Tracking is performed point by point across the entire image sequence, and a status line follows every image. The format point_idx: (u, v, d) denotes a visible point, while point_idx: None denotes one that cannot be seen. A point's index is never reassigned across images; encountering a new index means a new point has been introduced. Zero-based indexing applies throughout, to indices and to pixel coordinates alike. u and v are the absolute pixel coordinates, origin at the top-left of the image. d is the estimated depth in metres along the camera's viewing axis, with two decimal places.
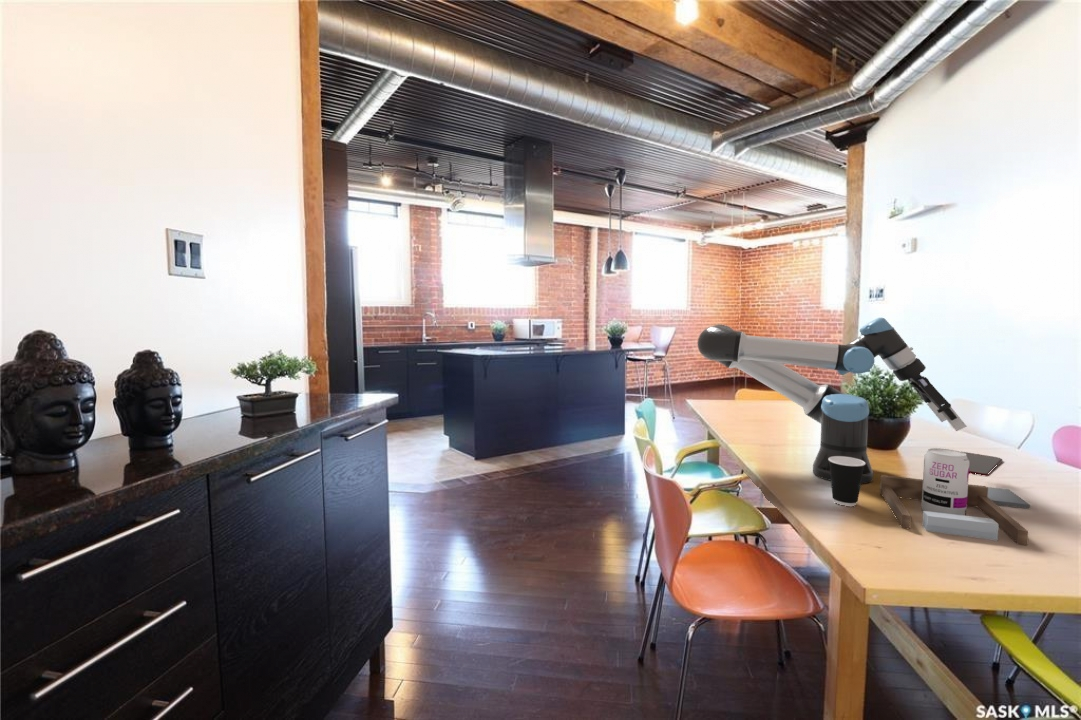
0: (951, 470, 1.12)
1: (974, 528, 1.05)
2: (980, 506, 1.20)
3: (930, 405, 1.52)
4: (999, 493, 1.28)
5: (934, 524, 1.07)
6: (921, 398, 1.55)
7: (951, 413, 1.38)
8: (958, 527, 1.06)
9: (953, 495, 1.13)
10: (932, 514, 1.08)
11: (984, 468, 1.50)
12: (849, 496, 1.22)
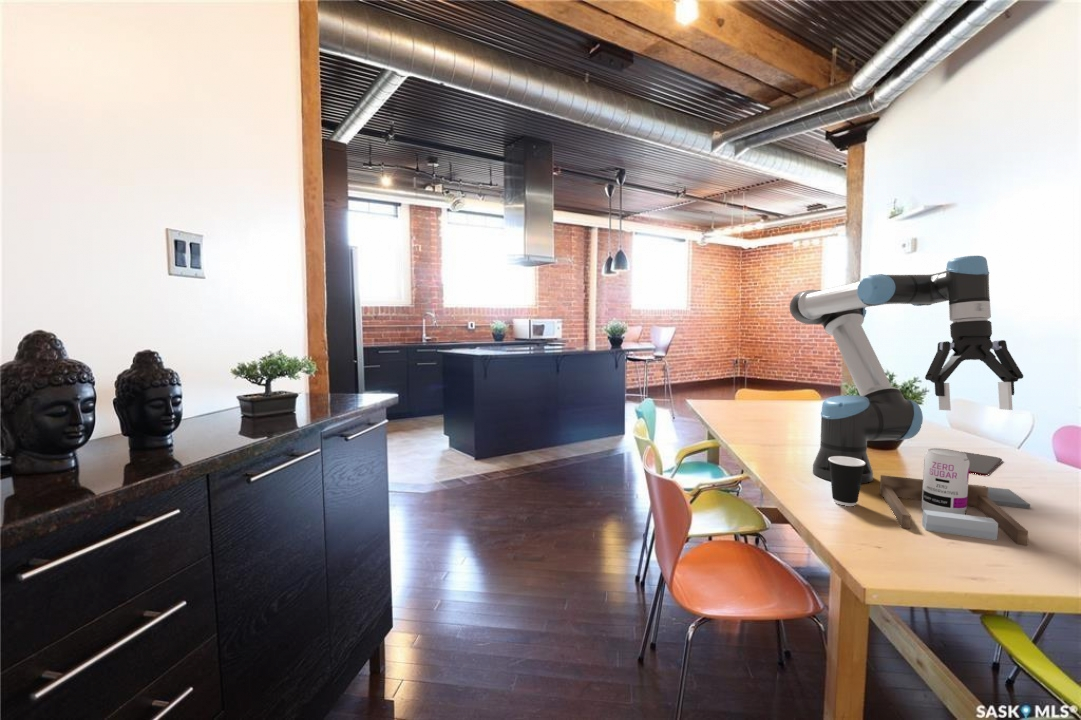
0: (951, 470, 1.12)
1: (973, 527, 1.05)
2: (980, 506, 1.20)
3: (999, 385, 1.19)
4: (999, 493, 1.28)
5: (933, 523, 1.08)
6: None
7: (937, 388, 1.19)
8: (957, 526, 1.06)
9: (953, 495, 1.13)
10: (932, 513, 1.08)
11: (984, 468, 1.50)
12: (849, 496, 1.22)
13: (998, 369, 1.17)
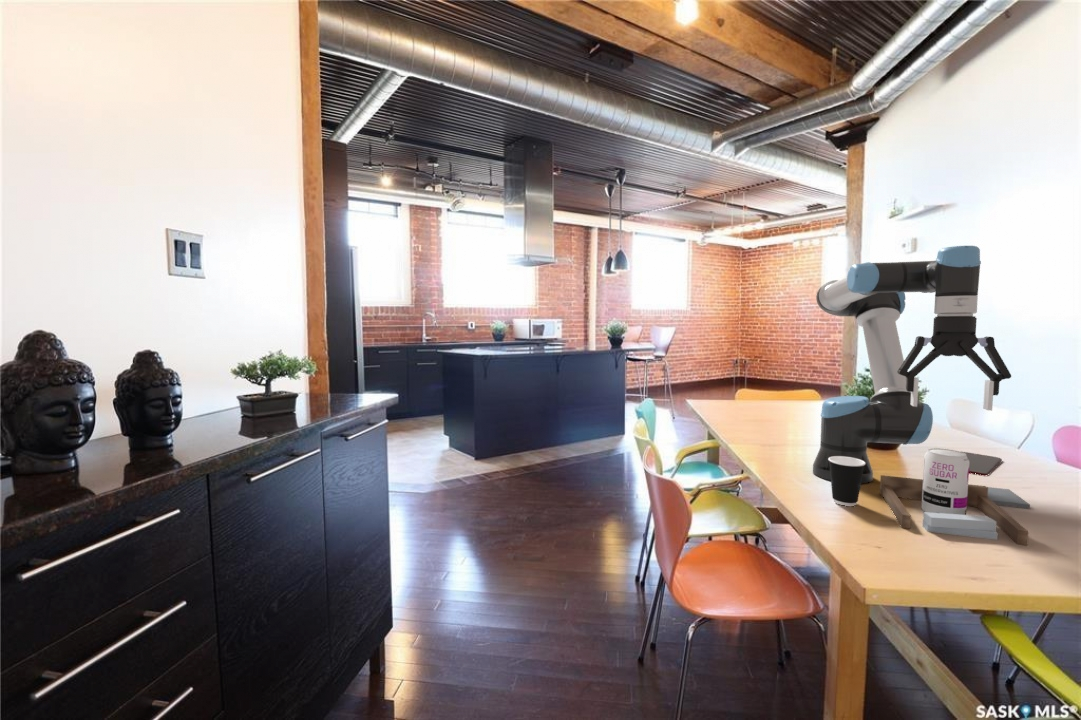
0: (951, 470, 1.12)
1: (974, 527, 1.05)
2: (980, 506, 1.20)
3: (985, 383, 1.12)
4: (999, 493, 1.28)
5: (937, 525, 1.06)
6: None
7: (907, 383, 1.18)
8: (959, 527, 1.06)
9: (953, 495, 1.13)
10: (934, 515, 1.07)
11: (984, 468, 1.50)
12: (849, 496, 1.22)
13: (981, 367, 1.11)
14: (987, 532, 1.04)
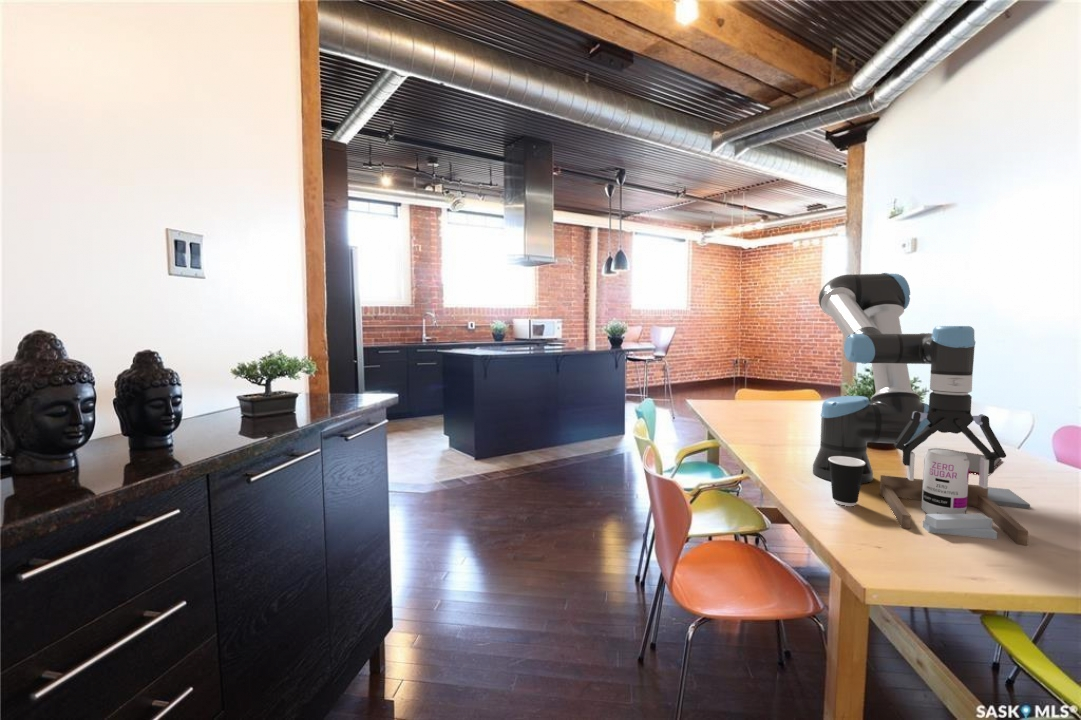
0: (951, 470, 1.12)
1: (973, 526, 1.06)
2: (980, 506, 1.20)
3: (980, 460, 1.14)
4: (999, 493, 1.28)
5: (941, 527, 1.06)
6: None
7: (903, 457, 1.19)
8: (961, 527, 1.06)
9: (953, 495, 1.13)
10: (937, 517, 1.07)
11: None
12: (849, 496, 1.22)
13: (976, 445, 1.12)
14: (987, 532, 1.04)
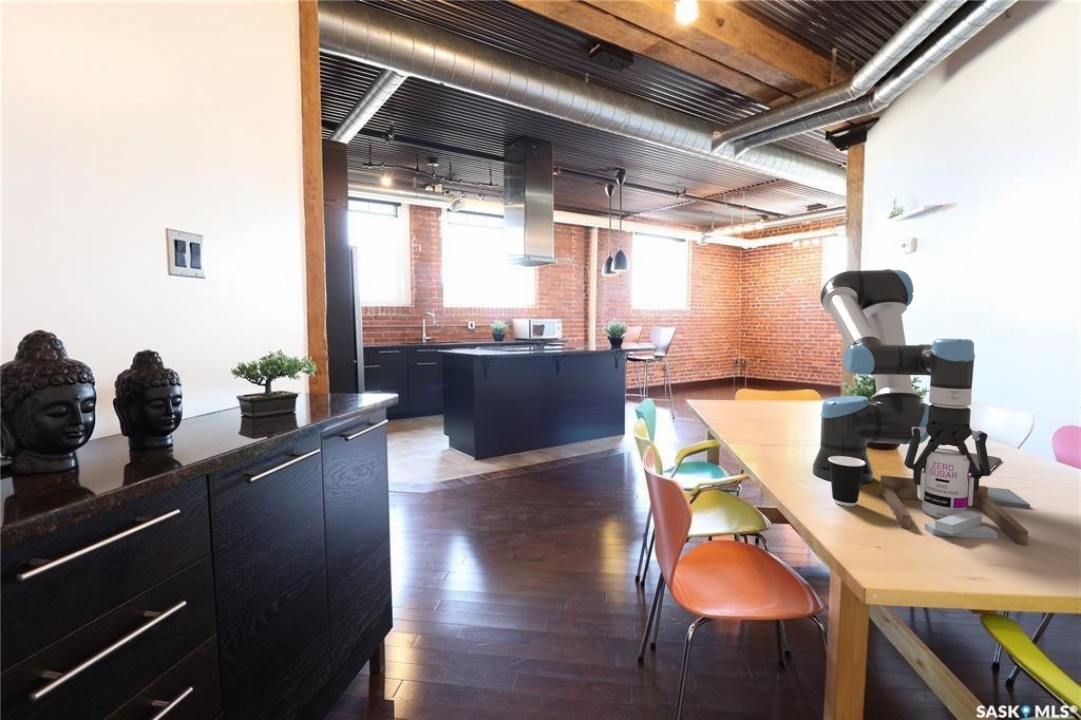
0: (951, 470, 1.12)
1: (972, 525, 1.06)
2: (980, 506, 1.20)
3: None
4: (999, 493, 1.28)
5: (955, 532, 1.03)
6: (983, 469, 1.14)
7: (914, 476, 1.18)
8: (965, 528, 1.05)
9: (953, 495, 1.12)
10: (948, 522, 1.04)
11: None
12: (849, 496, 1.22)
13: None
14: (988, 533, 1.04)
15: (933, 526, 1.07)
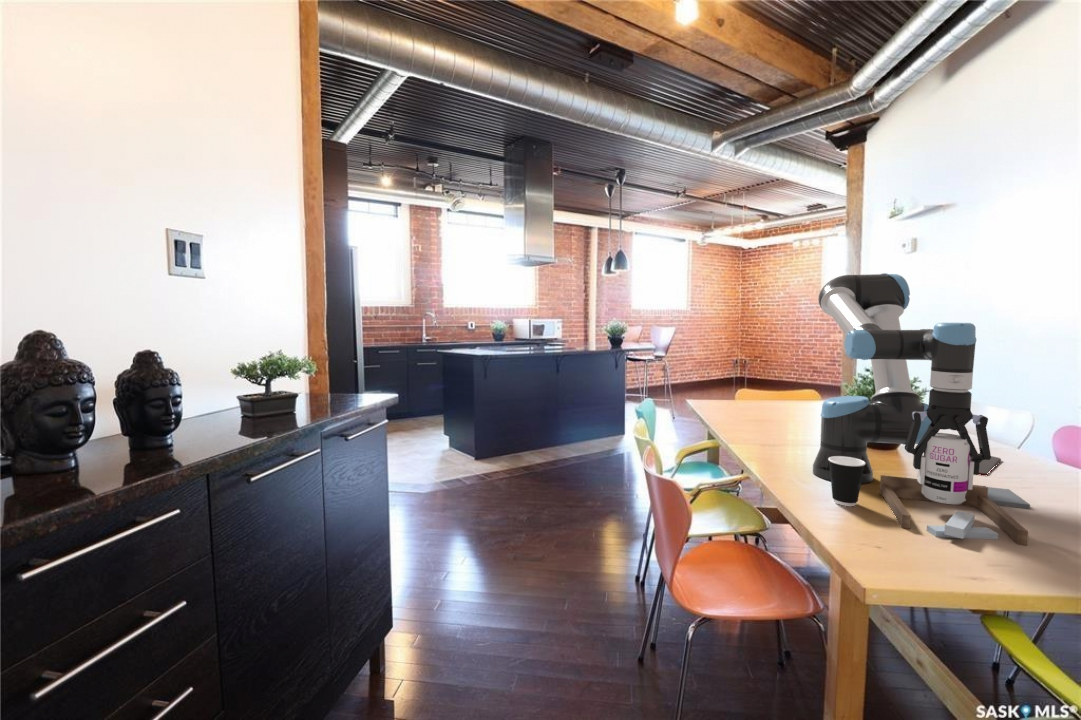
0: (952, 454, 1.12)
1: (970, 526, 1.06)
2: (980, 506, 1.20)
3: None
4: (999, 493, 1.28)
5: (964, 535, 1.02)
6: None
7: (914, 461, 1.19)
8: (968, 530, 1.05)
9: (953, 479, 1.13)
10: (957, 526, 1.03)
11: (983, 468, 1.50)
12: (849, 496, 1.22)
13: None
14: (989, 534, 1.04)
15: (936, 528, 1.06)
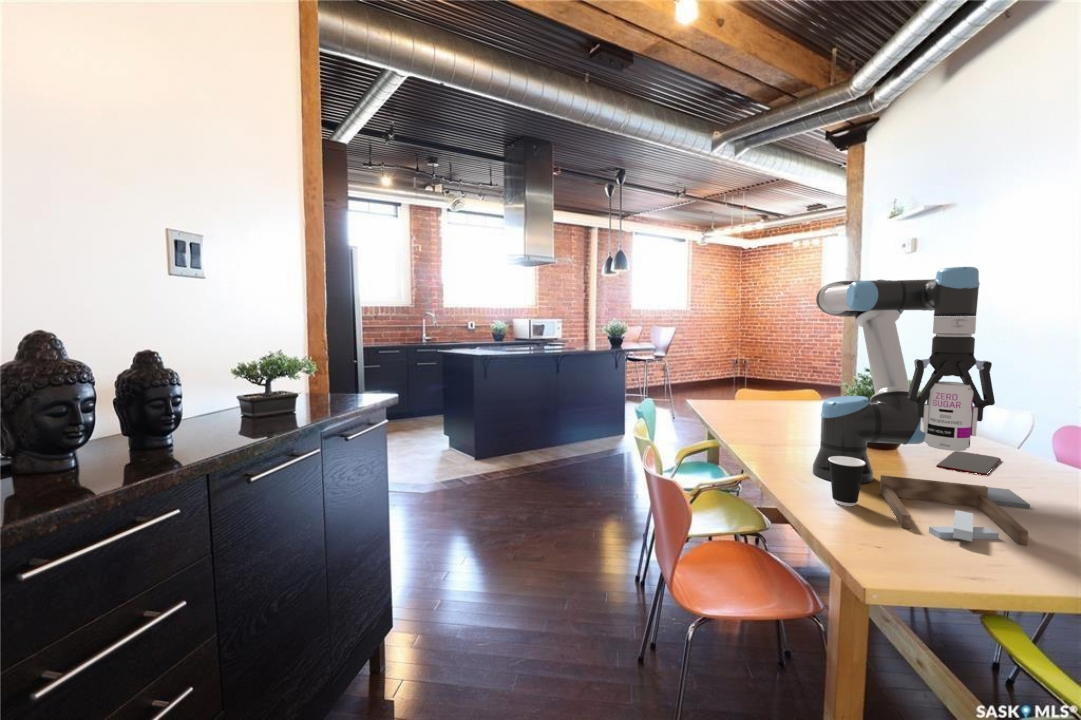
0: (955, 399, 1.11)
1: None
2: (980, 506, 1.20)
3: None
4: (999, 493, 1.28)
5: None
6: None
7: (917, 409, 1.17)
8: None
9: (957, 425, 1.11)
10: (965, 528, 1.01)
11: (983, 468, 1.50)
12: (849, 496, 1.22)
13: None
14: (990, 533, 1.04)
15: (939, 529, 1.05)
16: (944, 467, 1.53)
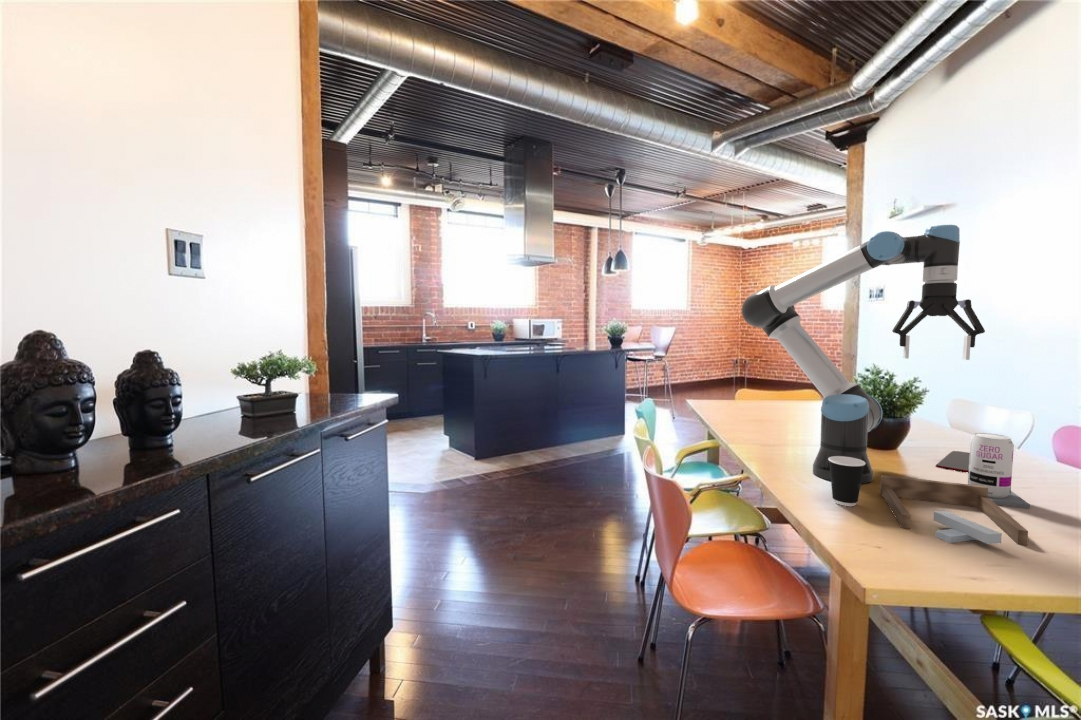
0: (997, 452, 1.23)
1: None
2: (980, 506, 1.20)
3: (964, 338, 1.37)
4: None
5: None
6: None
7: (900, 340, 1.42)
8: None
9: (999, 474, 1.24)
10: (991, 531, 1.00)
11: None
12: (849, 496, 1.22)
13: (960, 324, 1.36)
14: None
15: (947, 533, 1.04)
16: (943, 467, 1.53)
